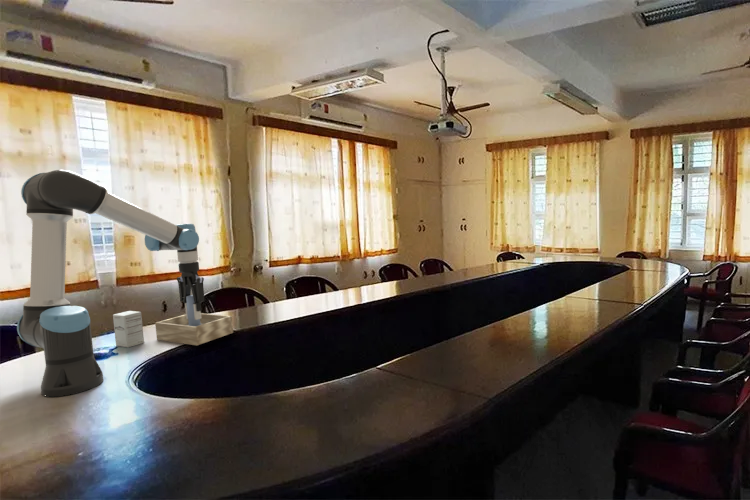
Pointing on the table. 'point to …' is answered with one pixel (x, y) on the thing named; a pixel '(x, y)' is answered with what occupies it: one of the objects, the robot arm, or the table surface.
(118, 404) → the table surface
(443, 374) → the table surface
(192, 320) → the peg
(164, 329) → the crate
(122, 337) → the supplement box
